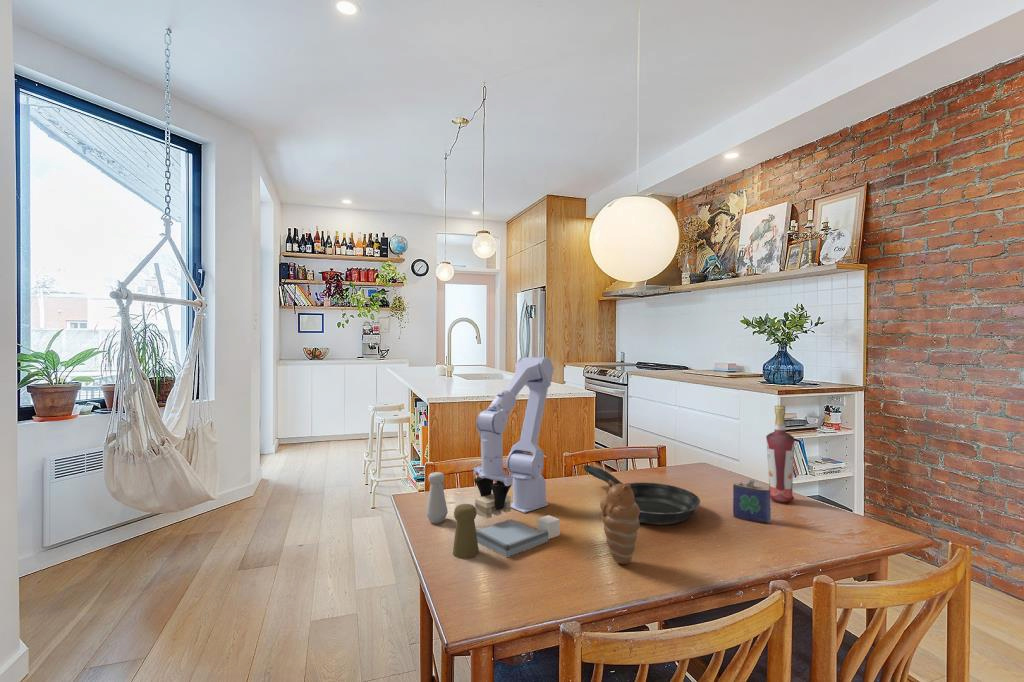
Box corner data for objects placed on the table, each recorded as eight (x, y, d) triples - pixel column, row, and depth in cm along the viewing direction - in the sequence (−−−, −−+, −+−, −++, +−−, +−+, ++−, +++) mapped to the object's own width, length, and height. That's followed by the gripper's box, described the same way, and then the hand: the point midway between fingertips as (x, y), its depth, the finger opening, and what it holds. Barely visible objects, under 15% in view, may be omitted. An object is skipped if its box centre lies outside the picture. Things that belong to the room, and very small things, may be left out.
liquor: (794, 506, 142) (794, 408, 141) (766, 502, 145) (765, 407, 145) (795, 499, 148) (794, 405, 148) (767, 495, 152) (766, 403, 151)
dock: (511, 525, 131) (511, 515, 131) (548, 541, 121) (548, 531, 121) (471, 538, 123) (470, 528, 123) (506, 557, 112) (506, 546, 112)
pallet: (499, 506, 137) (498, 491, 137) (510, 511, 133) (510, 496, 133) (475, 513, 132) (475, 498, 132) (486, 518, 128) (486, 503, 128)
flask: (771, 522, 131) (771, 481, 131) (769, 525, 128) (768, 484, 128) (734, 514, 137) (734, 475, 136) (731, 517, 134) (730, 478, 134)
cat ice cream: (594, 563, 109) (593, 481, 108) (613, 551, 114) (612, 473, 114) (631, 576, 103) (630, 489, 102) (649, 563, 109) (648, 481, 108)
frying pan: (721, 520, 133) (720, 495, 133) (648, 538, 122) (648, 511, 122) (617, 478, 172) (617, 459, 172) (555, 489, 161) (555, 469, 161)
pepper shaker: (468, 560, 111) (467, 511, 111) (447, 554, 114) (446, 507, 114) (484, 550, 116) (483, 503, 116) (463, 545, 119) (462, 499, 119)
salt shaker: (443, 525, 132) (442, 476, 132) (423, 524, 133) (422, 475, 133) (450, 517, 138) (449, 470, 137) (431, 516, 139) (430, 469, 139)
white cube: (548, 530, 128) (548, 515, 128) (559, 535, 125) (559, 519, 125) (537, 534, 125) (537, 519, 125) (548, 539, 122) (548, 523, 122)
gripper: (464, 453, 135) (465, 503, 136) (496, 463, 124) (498, 517, 124) (484, 449, 140) (486, 497, 140) (518, 458, 129) (519, 510, 129)
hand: (493, 506), depth 133 cm, fingers closed on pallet, 5 cm apart
